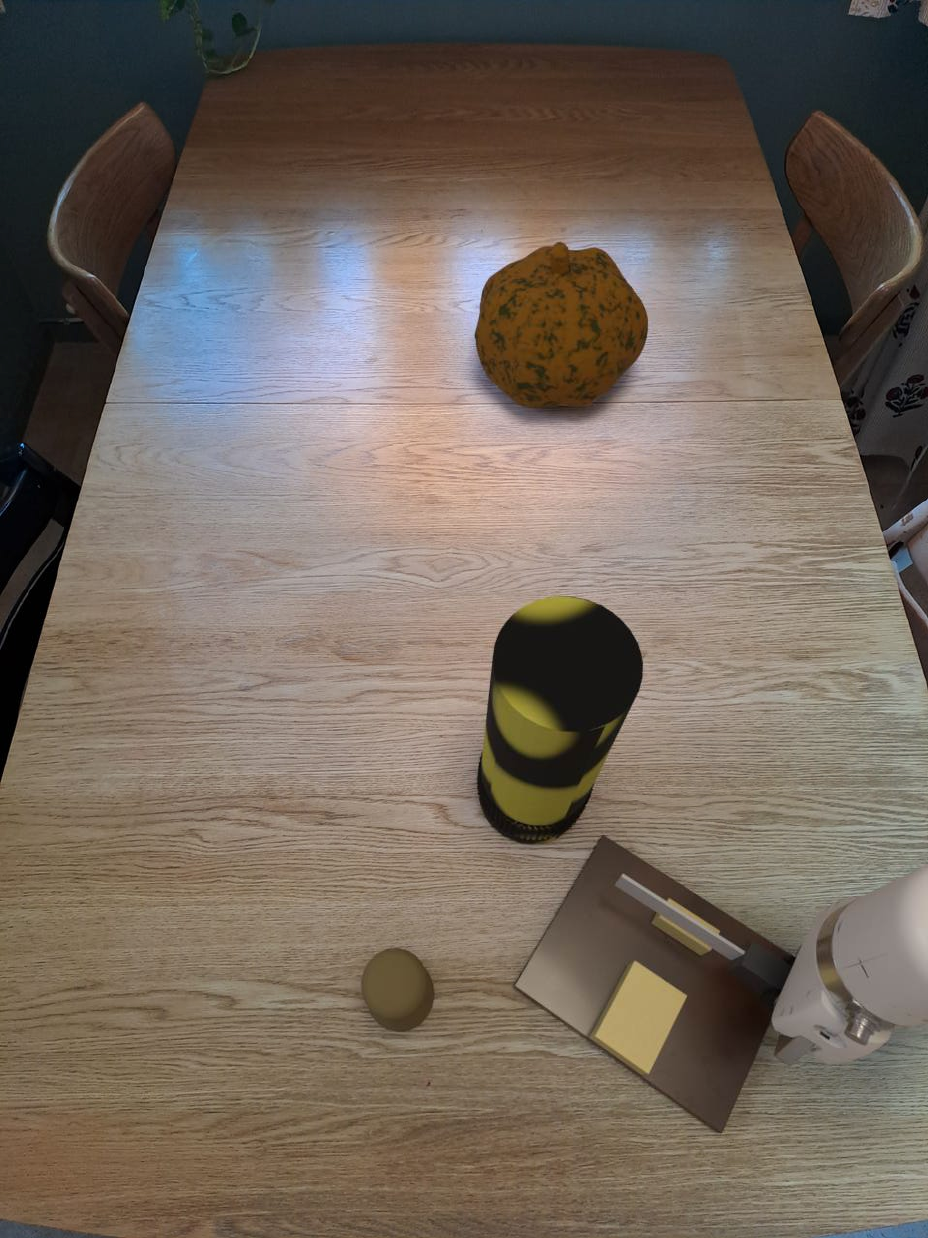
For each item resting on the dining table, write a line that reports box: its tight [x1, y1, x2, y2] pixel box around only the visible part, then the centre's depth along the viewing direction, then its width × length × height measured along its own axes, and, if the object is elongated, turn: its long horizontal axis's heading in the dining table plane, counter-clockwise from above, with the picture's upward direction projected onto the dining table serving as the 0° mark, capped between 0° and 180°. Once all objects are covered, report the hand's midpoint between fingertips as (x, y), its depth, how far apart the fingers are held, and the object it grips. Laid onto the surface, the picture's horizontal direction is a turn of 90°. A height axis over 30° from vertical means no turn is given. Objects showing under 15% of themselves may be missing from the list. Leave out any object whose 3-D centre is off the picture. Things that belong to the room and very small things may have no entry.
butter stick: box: [590, 961, 687, 1074], centre depth 71 cm, size 5×7×3 cm
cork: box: [360, 947, 435, 1033], centre depth 69 cm, size 6×6×11 cm
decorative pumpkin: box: [473, 241, 649, 408], centre depth 102 cm, size 20×21×20 cm
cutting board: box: [513, 834, 792, 1134], centre depth 75 cm, size 20×16×2 cm
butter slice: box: [652, 898, 720, 955], centre depth 74 cm, size 5×2×3 cm, turn 56°
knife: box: [615, 874, 793, 994], centre depth 68 cm, size 20×2×4 cm, turn 56°
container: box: [476, 595, 644, 845], centre depth 70 cm, size 11×11×30 cm
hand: (785, 992), depth 68 cm, fingers closed on knife, 2 cm apart
